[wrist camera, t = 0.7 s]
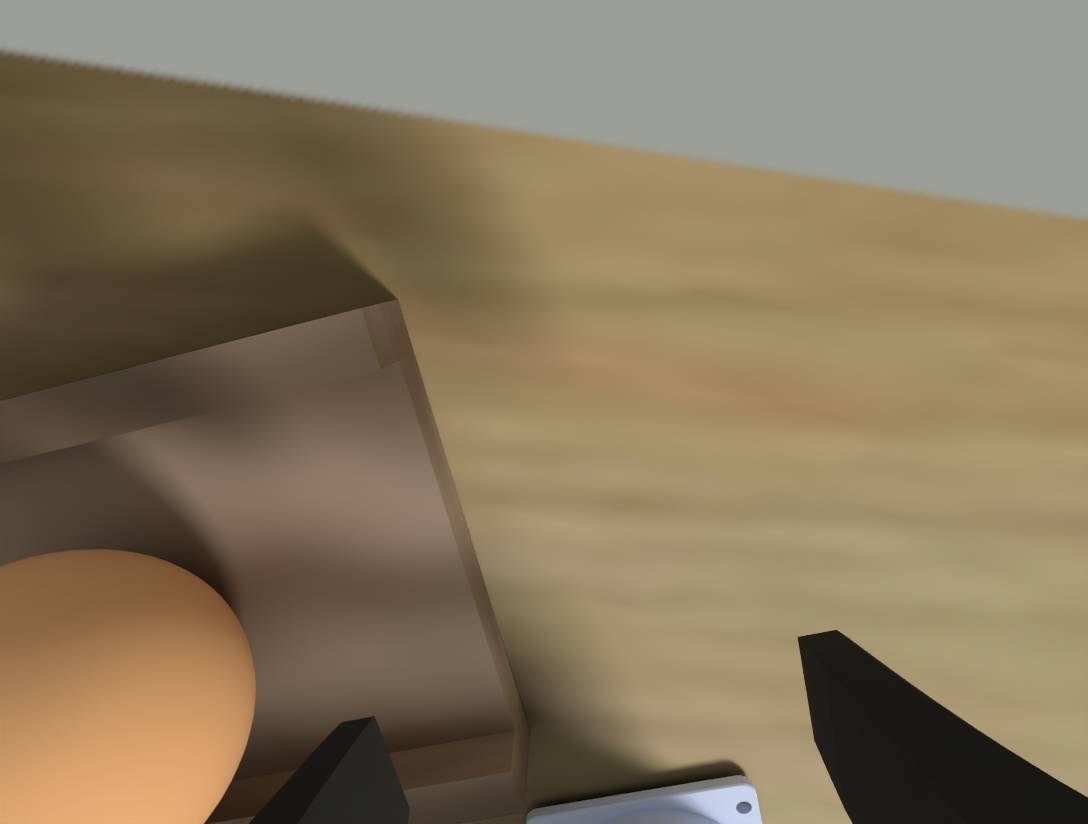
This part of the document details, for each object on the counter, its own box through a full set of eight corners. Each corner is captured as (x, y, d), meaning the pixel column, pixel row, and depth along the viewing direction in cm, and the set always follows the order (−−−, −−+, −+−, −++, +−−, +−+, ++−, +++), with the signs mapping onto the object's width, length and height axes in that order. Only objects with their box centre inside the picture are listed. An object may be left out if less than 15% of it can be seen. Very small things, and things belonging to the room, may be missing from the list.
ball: (343, 706, 18) (177, 1042, 10) (112, 750, 19) (-205, 1094, 11) (250, 470, 16) (-41, 666, 8) (-3, 530, 17) (-486, 760, 9)
